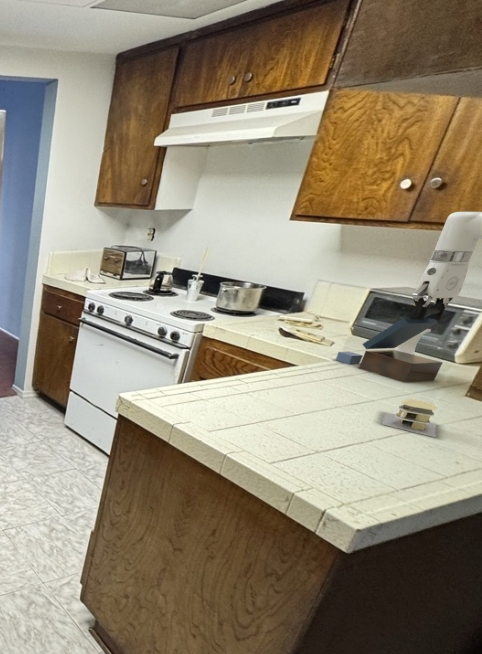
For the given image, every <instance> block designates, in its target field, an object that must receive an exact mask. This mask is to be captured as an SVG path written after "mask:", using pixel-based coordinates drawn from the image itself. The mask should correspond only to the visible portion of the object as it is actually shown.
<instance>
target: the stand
mask: <svg viewBox="0 0 482 654" xmlns="http://www.w3.org/2000/svg"><path fill="white" fill-rule="evenodd" d="M442 365H443V361H439V360H436V359H431V358H427V357H423V356H419V355H416V354H414V355H412V354H408V353H404V352H401V351H397V350H396V349H379V350H378V349H373V350H365V352H364V354H363V356H362V359H361V361H360V363H359V366H358V369H361V370H362V371H366V372H370V373H374V374H377V375H379V376H383V377H387V378H389V379H393V380H396V381H400V382H402V383H416V382H434V381H435V379H436V377H437V375H438V373H439V372H440V369H441V367H442Z"/></svg>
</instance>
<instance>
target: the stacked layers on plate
mask: <svg viewBox="0 0 482 654" xmlns="http://www.w3.org/2000/svg"><path fill="white" fill-rule="evenodd" d="M400 403H401V404H402V405H399V406H398V410H399V411H398V412H397V413H395V414H391V413H387V412H385V413H384V416H383V419H382V423H381V425H382V426H383V425H384V426H387V427H391V428H395V429H398V430H399V429H400V430H403V431H407V432H412V433H415V434H420V435H423V436H428V437H432V438H436V430H437V425H436V424H433V423H431V421H430V418H431V417H434V416H435V413H434V412H433V411H436V410H437V407H436V406H435V404H434V403H432V402H428V401H423V400H420V399H414V398H408V399H405V400H402V401H400Z"/></svg>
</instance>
